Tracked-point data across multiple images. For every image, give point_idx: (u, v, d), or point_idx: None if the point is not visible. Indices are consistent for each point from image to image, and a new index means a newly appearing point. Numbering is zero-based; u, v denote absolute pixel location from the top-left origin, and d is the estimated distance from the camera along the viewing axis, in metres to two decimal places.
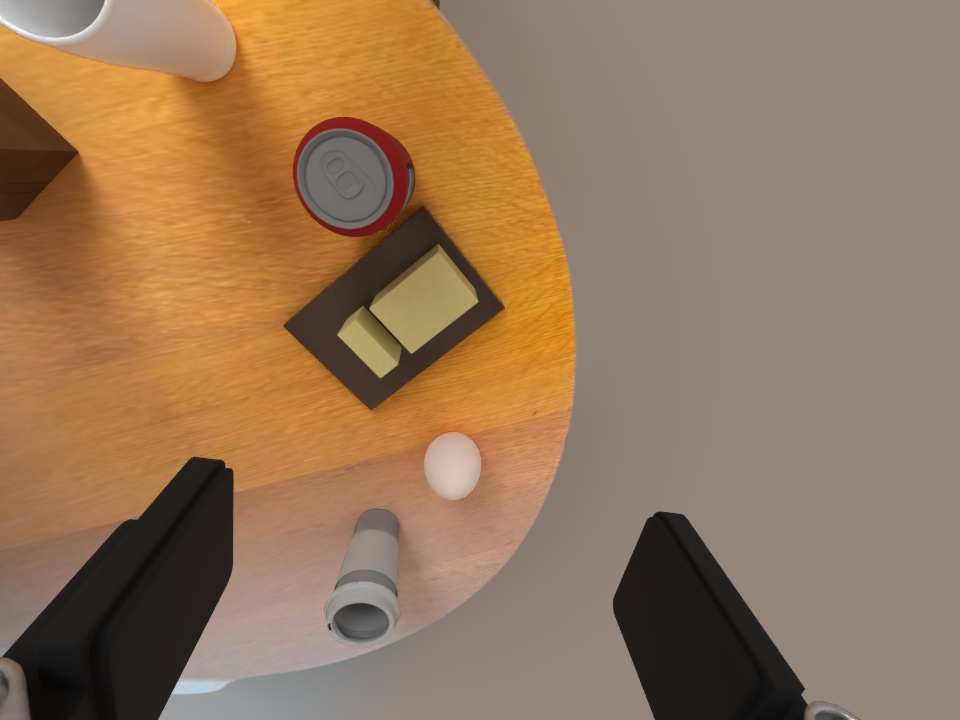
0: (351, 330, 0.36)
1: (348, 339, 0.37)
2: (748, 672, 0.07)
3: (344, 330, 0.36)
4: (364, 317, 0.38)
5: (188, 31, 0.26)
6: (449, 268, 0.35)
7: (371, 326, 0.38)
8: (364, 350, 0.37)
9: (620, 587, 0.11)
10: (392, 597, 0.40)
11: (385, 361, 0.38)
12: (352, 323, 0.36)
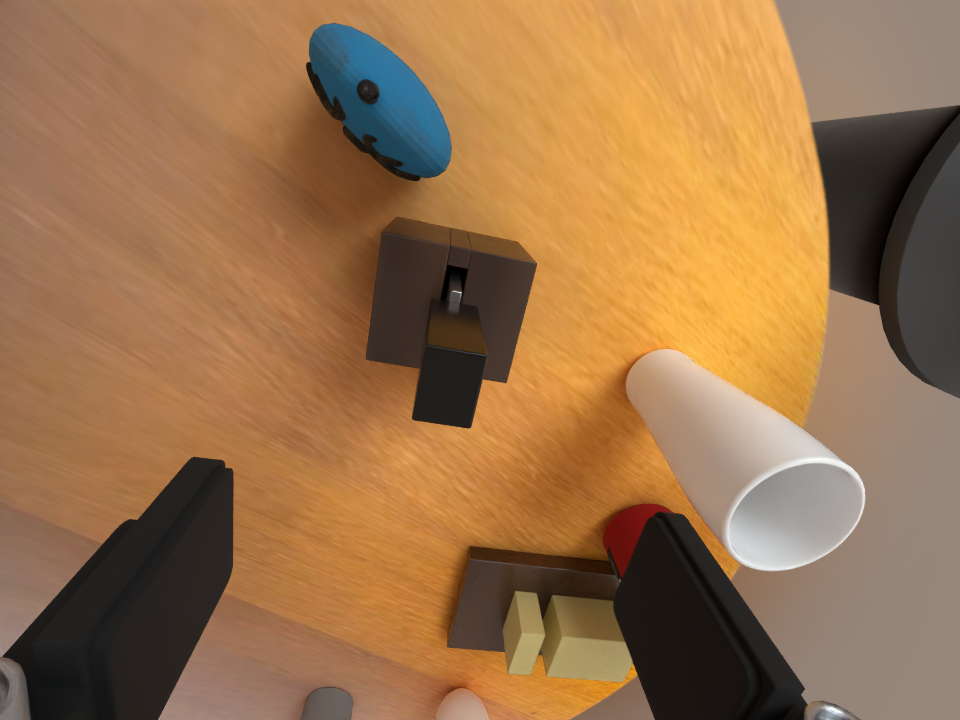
0: (534, 638, 0.37)
1: (524, 640, 0.37)
2: (748, 672, 0.07)
3: (530, 634, 0.37)
4: None
5: None
6: None
7: None
8: (523, 653, 0.38)
9: (620, 587, 0.11)
10: None
11: (525, 668, 0.38)
12: (540, 635, 0.37)
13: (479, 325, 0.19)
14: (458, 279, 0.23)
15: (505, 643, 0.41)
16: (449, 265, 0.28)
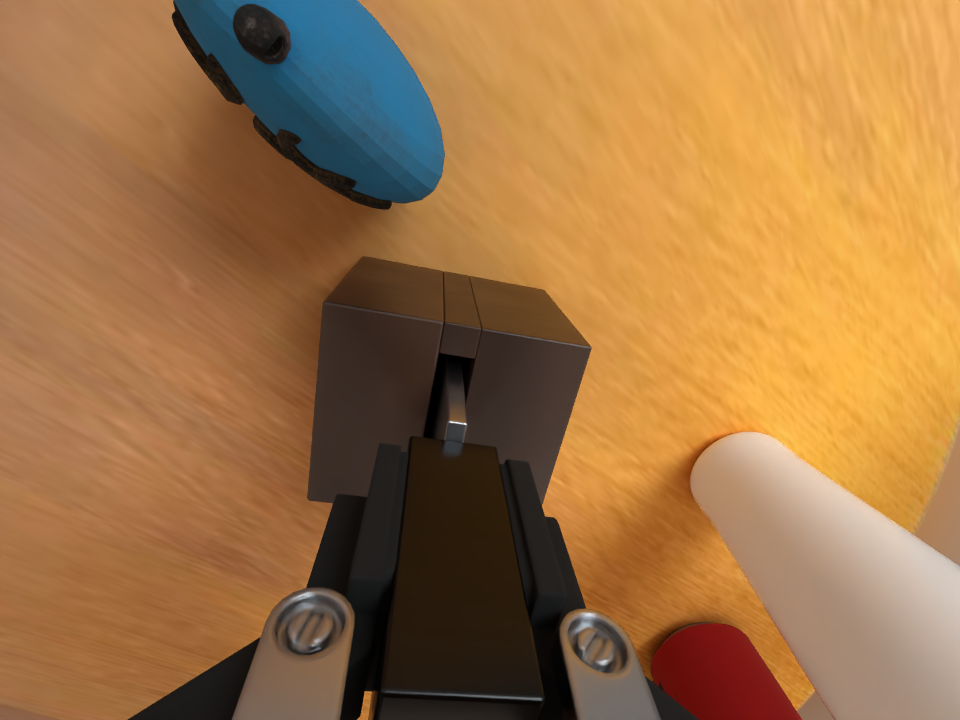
0: None
1: None
2: (524, 584, 0.08)
3: None
4: None
5: None
6: None
7: None
8: None
9: None
10: None
11: None
12: None
13: (507, 527, 0.09)
14: (459, 379, 0.14)
15: None
16: None
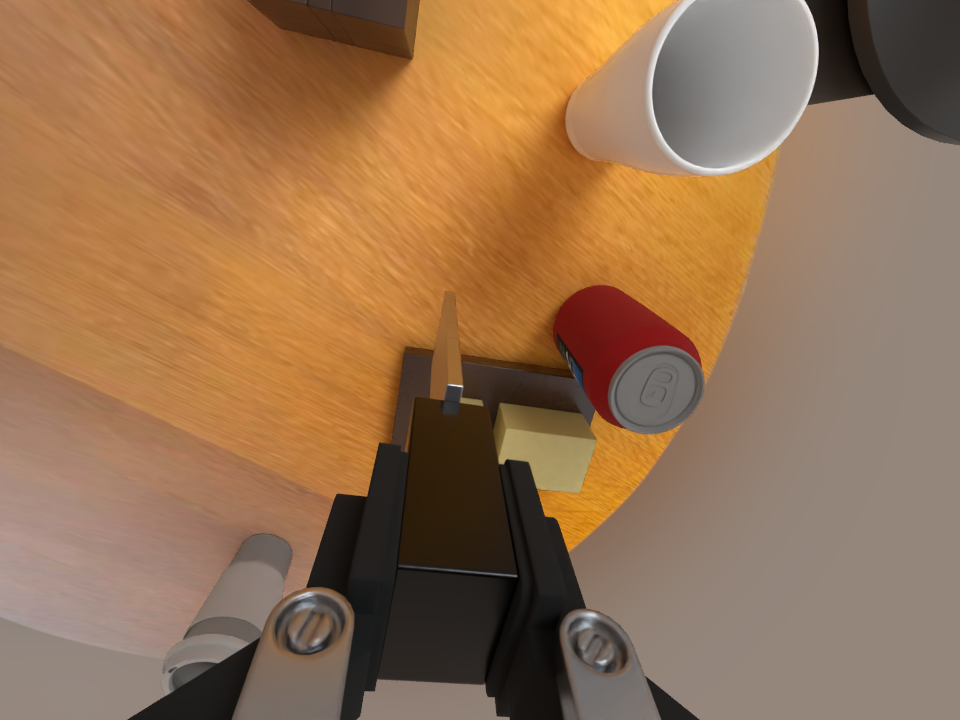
0: None
1: None
2: (524, 584, 0.08)
3: None
4: None
5: None
6: (590, 456, 0.35)
7: None
8: None
9: None
10: None
11: None
12: None
13: (496, 465, 0.11)
14: (457, 352, 0.15)
15: None
16: (443, 314, 0.20)
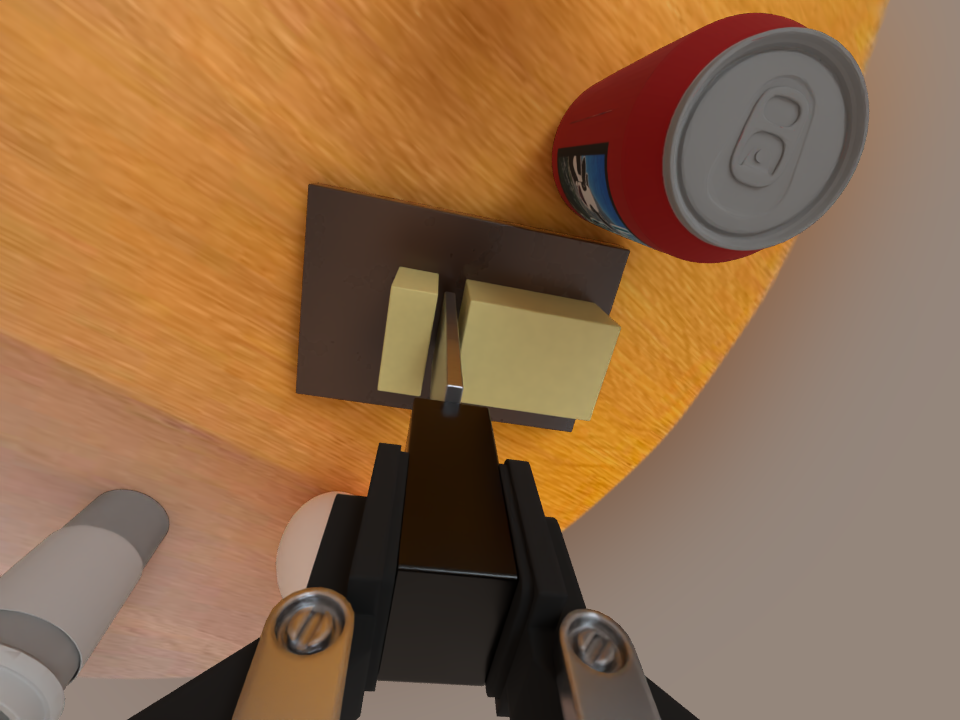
0: (416, 301, 0.20)
1: (398, 306, 0.20)
2: (524, 584, 0.08)
3: (408, 291, 0.19)
4: None
5: None
6: (609, 356, 0.21)
7: None
8: (401, 339, 0.20)
9: None
10: (56, 710, 0.20)
11: (409, 378, 0.21)
12: (428, 294, 0.20)
13: (496, 466, 0.11)
14: (457, 352, 0.15)
15: None
16: (443, 314, 0.20)
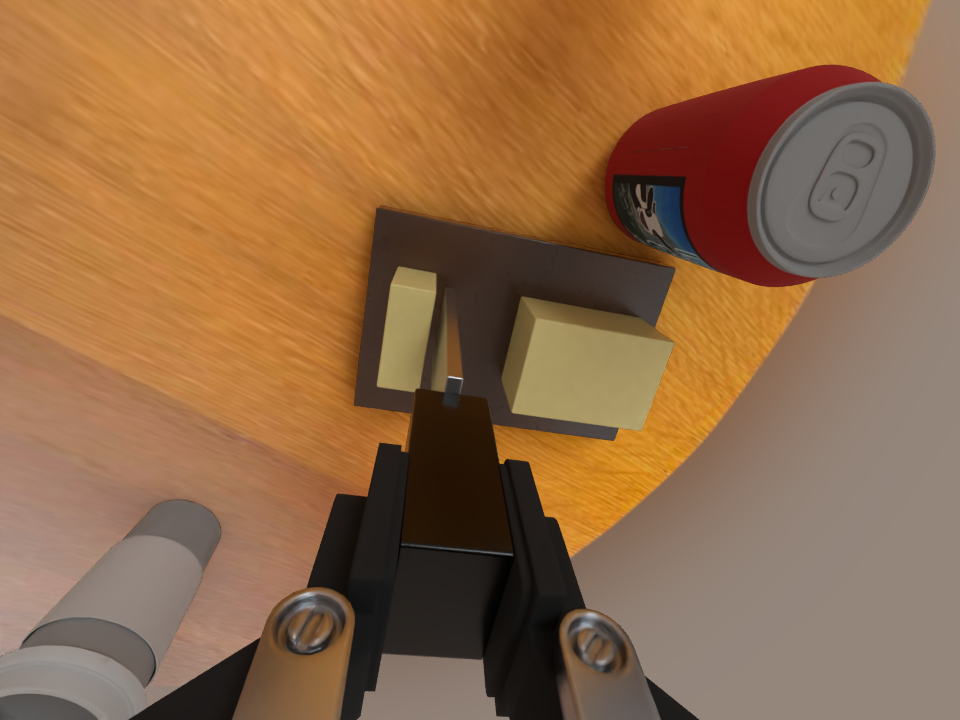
0: (415, 299, 0.20)
1: (397, 304, 0.20)
2: (524, 584, 0.08)
3: (407, 289, 0.20)
4: None
5: None
6: (662, 370, 0.23)
7: None
8: (400, 337, 0.21)
9: None
10: None
11: (408, 374, 0.21)
12: (427, 292, 0.20)
13: (494, 452, 0.11)
14: (457, 346, 0.16)
15: None
16: (444, 309, 0.20)
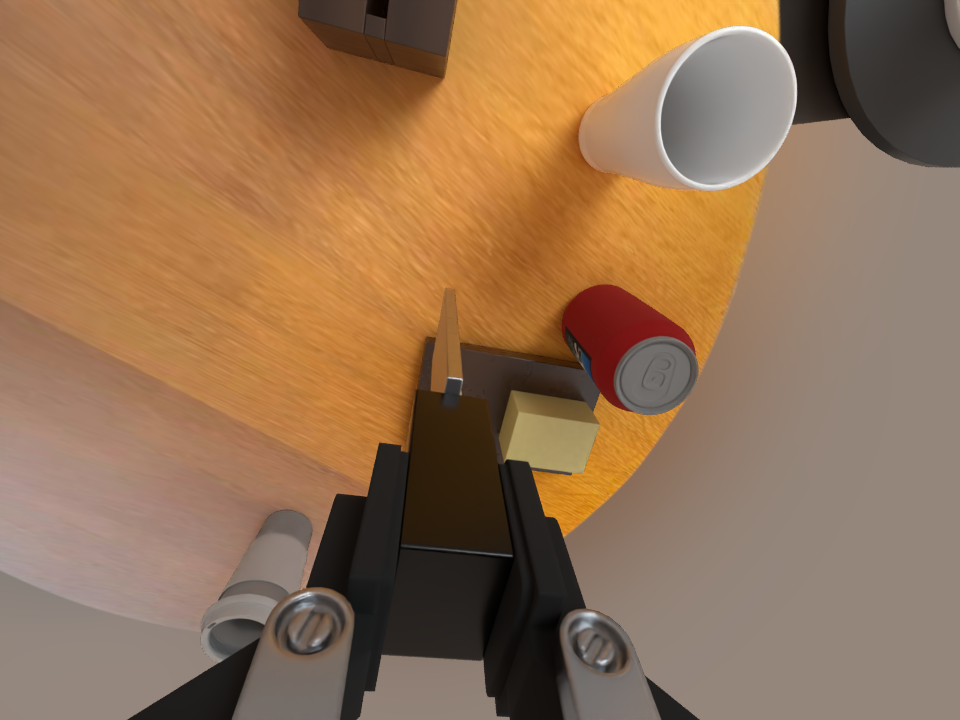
0: None
1: None
2: (524, 584, 0.08)
3: None
4: None
5: None
6: (593, 439, 0.38)
7: None
8: None
9: None
10: None
11: None
12: None
13: (494, 453, 0.11)
14: (457, 346, 0.16)
15: None
16: (444, 310, 0.20)
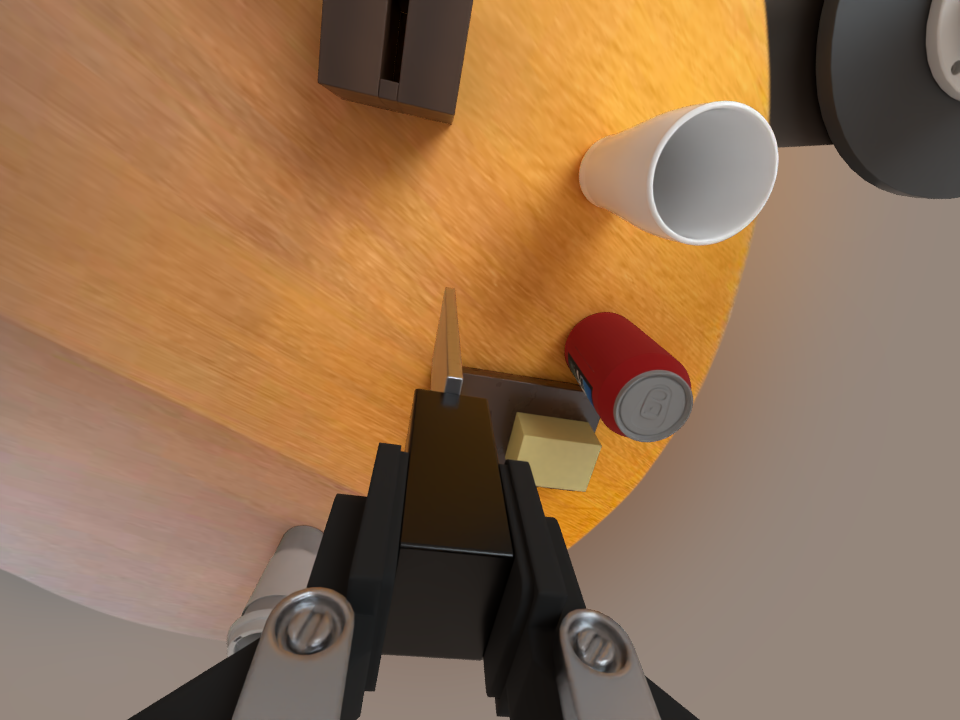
0: None
1: None
2: (524, 583, 0.08)
3: None
4: None
5: None
6: (595, 459, 0.40)
7: None
8: None
9: None
10: None
11: None
12: None
13: (494, 453, 0.11)
14: (457, 346, 0.16)
15: None
16: (443, 309, 0.20)
